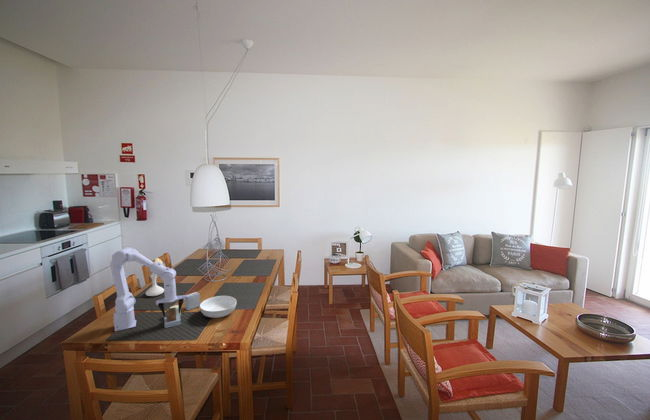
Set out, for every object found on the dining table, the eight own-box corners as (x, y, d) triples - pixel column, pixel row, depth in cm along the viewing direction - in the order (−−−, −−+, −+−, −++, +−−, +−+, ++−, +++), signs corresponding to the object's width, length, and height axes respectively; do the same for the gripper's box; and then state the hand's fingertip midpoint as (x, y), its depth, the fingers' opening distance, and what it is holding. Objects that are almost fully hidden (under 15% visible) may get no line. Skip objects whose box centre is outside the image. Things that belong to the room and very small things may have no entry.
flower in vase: (154, 298, 198) (151, 262, 195) (141, 296, 202) (138, 261, 198) (170, 291, 210) (167, 257, 207) (157, 289, 214) (155, 255, 210)
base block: (164, 329, 163) (164, 324, 162) (164, 322, 169) (164, 317, 169) (181, 325, 166) (180, 320, 166) (180, 319, 173) (179, 314, 173)
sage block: (173, 318, 173) (172, 309, 172) (170, 316, 176) (169, 307, 175) (181, 315, 176) (180, 306, 176) (177, 313, 179) (177, 304, 178)
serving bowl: (221, 325, 166) (221, 313, 165) (192, 318, 173) (191, 307, 172) (244, 308, 185) (243, 298, 184) (216, 303, 192) (216, 293, 191)
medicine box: (197, 304, 191) (196, 291, 190) (200, 306, 188) (199, 293, 187) (184, 308, 185) (184, 295, 184) (188, 310, 182) (187, 297, 181)
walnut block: (167, 321, 164) (166, 312, 163) (167, 318, 168) (166, 309, 167) (176, 320, 166) (175, 310, 165) (176, 316, 170) (175, 307, 169)
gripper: (155, 296, 158) (157, 320, 160) (185, 290, 165) (186, 313, 167) (155, 291, 164) (157, 314, 166) (184, 286, 171) (185, 308, 173)
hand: (171, 313), depth 167 cm, fingers open, 7 cm apart
